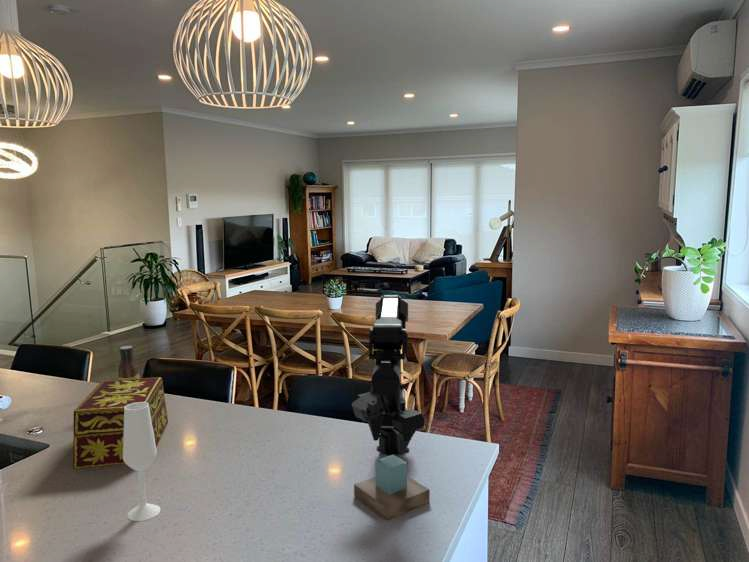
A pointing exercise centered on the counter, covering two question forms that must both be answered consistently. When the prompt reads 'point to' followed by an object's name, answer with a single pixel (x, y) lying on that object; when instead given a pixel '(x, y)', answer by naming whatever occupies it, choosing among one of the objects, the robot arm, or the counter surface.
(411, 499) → the walnut base
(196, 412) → the counter surface
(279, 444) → the counter surface
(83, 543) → the counter surface
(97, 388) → the decorative box
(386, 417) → the robot arm
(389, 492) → the teal block
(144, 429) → the champagne flute
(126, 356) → the sauce bottle
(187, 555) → the counter surface
